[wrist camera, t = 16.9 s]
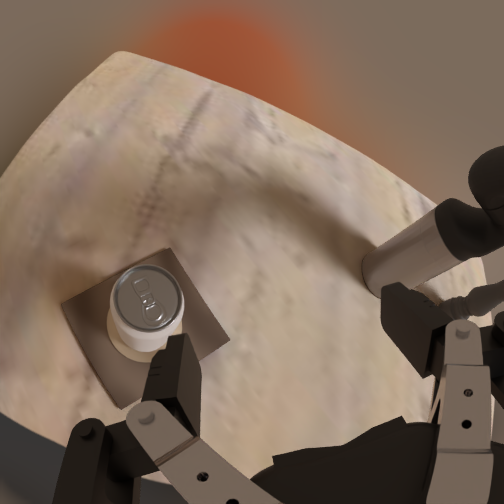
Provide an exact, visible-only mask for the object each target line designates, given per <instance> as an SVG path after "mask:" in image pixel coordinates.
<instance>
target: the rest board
mask: <svg viewBox="0 0 504 504" xmlns="http://www.w3.org/2000/svg"><path fill="white" fill-rule="evenodd" d="M141 264H152V265H156V266H159V267H162V268H164V269H165V270H167V271H168V272H170V273H171V274H172V275H173V276H174V277H175V279H176V280H177V282H178V284H179V286H180V288H181V291H182V293H183V297H184V312H183V316H182V319H181V321H180V323H179V325H178V326H177V328H176V329H175V331H174V332H173V334H172V335H176V334H182V333H187V334H188V335H189V337H190V340H191V343H192V345H193V348H194V351H195V353H196V356H197V358H198V361H200V360H201V359H203V358H204V357H206V356H207V355H209V354H210V353H212V352H213V351H215V350H216V349H218V348H219V347H221V346H222V345H224V344H225V343H227V342H228V341H230V338H229V337H228V336H227V334H226V333H225V331H224V330H223V328H222V327H221V325H220V324H219V322H218V321H217V319H216V318H215V317H214V315H213V314H212V312H211V311H210V309H209V308H208V306H207V305H206V303H205V302H204V300H203V299H202V297H201V295H200V294H199V292H198V291H197V289H196V288H195V286H194V285H193V283H192V282H191V280H190V278H189V277H188V275H187V274H186V272H185V271H184V269H183V267H182V266H181V264H180V263H179V261H178V259H177V258H176V256H175V255H174V253H173V251H172V250H171V248H168V249H166V250H164V251H162V252H160V253H158V254H156V255H154V256H152V257H150V258H148V259H146V260H144V261H142V262H140V263H138V264H136V265H134V266H137V265H141ZM134 266H132V267H134ZM132 267H130V268H132ZM130 268H128V269H130ZM128 269H126V270H125V271H127V270H128ZM125 271H123V272H121V273H119V274H117V275H115V276H113V277H111V278H109V279H107V280H105V281H103V282H101V283H99V284H98V285H96V286H94V287H92V288H90V289H88V290H86V291H84V292H82V293H81V294H79V295H77V296H75V297H73V298H71V299H69V300H68V301H66V302H64V303H62V304H61V305H62V308H63V310H64V312H65V314H66V316H67V318H68V320H69V322H70V324H71V326H72V328H73V330H74V332H75V334H76V336H77V338H78V340H79V342H80V344H81V346H82V347H83V349H84V351H85V353H86V355H87V356H88V358H89V360H90V362H91V363H92V365H93V367H94V369H95V370H96V372H97V374H98V375H99V377H100V379H101V380H102V382H103V383H104V385H105V387H106V388H107V390H108V391H109V393H110V394H111V396H112V397H113V399H114V400H115V402H116V403H117V405H118V406H119V408H120V409H121V410H122V409H123V408H125V407H127V406H128V405H130V404H132V403H133V402H135V401H137V400H138V399H140V398H142V396H143V392H144V388H145V383H146V379H147V377H148V371H149V370H150V364H151V360H152V358H153V357H154V355H155V354H156V353H157V351H158V350H161V349H165V348H166V343H167V342H166V343H165V344H164V345H163V346H161V347H160V348H158V349H156V350H154V351H151V352H141V351H137V350H134V349H132V348H130V347H129V346H128V345H126V344H125V343H124V341H123V340H122V339H121V337H120V335H119V333H118V331H117V328H116V325H115V323H114V320H113V317H112V313H111V308H110V296H111V292H112V289H113V286H114V285H115V283H116V281H117V280H118V279H119V278H120V276H121V275H122V274H123V273H124V272H125Z"/></svg>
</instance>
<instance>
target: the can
mask: <svg viewBox="0 0 504 504" xmlns="http://www.w3.org/2000/svg"><path fill="white" fill-rule="evenodd" d="M110 308H111V313H112V317H113V320H114V323H115V325H116V328H117V331H118V333H119V335H120V337H121V339H122V340H123V341H124V343H125V344H126V345H128V346H129V347H130V348H132V349H134V350H137V351H141V352H151V351H154V350H156V349H158V348H160V347H161V346H163V345H164V344H165V343H166V342H167V339H168V336H171V335H172V334H173V332H174V331H175V329H176V328H177V326H178V325H179V323H180V321H181V319H182V316H183V312H184V297H183V293H182V291H181V288H180V286H179V284H178V282H177V280H176V279H175V277H174V276H173V275H172V274H171V273H170V272H168V271H167V270H165V269H164V268H162V267H159V266H156V265H152V264H141V265H137V266H134V267H132V268H130V269H128V270H127V271H125V272H124V273H123V274H122V275H121V276H120V278H119V279H118V280H117V281H116V283H115V285H114V286H113V289H112V292H111V296H110Z"/></svg>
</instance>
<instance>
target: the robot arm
mask: <svg viewBox="0 0 504 504" xmlns="http://www.w3.org/2000/svg"><path fill="white" fill-rule="evenodd" d="M468 183H469V187H470V189H471V192H472V194H473V195H474V197H475V199H476V201H477V202H478V203H479V204H480V206H481V207H482V208H475V207H472V206H470V205H467V204H465V203H463V202H461V201H460V200H457V199H454V198H449V199H447V200H445V201H443V202H442V203H441V204H439V205H438V206H437V207H435V208H434V209H433V210H431V211H430V212H428V213H427V214H426V215H424V216H423V217H422V218H420V219H419V220H417V221H416V222H414V223H413V224H412V225H410V226H409V227H407V228H406V229H404V230H403V231H401V232H400V233H398V234H397V235H396V236H394V237H393V238H391V239H390V240H388V241H387V242H385V243H384V244H382V245H380V246H379V247H377V248H376V249H374V250H373V251H371V252H370V253H368V254H367V255H366V256H365V258H364V259H363V263H362V273H363V278H364V280H365V283H366V285H367V286H368V288H369V289H370V291H371V292H372V293H373V294H374V295H375V296H377V297H379V298H381V324H382V327H383V329H384V331H385V332H386V334H387V335H388V336H389V337H390V338H391V340H392V341H393V342H394V343H395V345H396V346H397V347H398V348H399V349H400V351H401V352H402V353H403V354H404V356H405V357H406V358H407V359H408V361H409V362H410V363H411V364H412V366H413V367H414V368H415V369H416V371H417V372H418V373H419V375H420V376H421V377H422V378H426V377H428V376H430V375H432V374H433V375H434V376H435V379H434V384H433V391H432V398H431V405H430V411H429V416H428V421H427V422H413V423H406V422H405V420H404V419H403V417H402V416H400V417H398V418H395V419H393V420H390V421H388V422H385V423H383V424H380V425H378V426H375V427H373V428H371V429H369V430H368V431H366V432H365V433H363V434H361V435H360V436H358V437H357V438H355V439H353V440H351V441H350V442H348V443H346V444H344V445H341V446H332V447H319V448H305V449H301V450H297V451H293V452H289V453H284V454H280V455H275V456H272V458H273V463H274V465H272V466H270V467H268V468H266V469H264V470H262V471H260V472H259V473H257V474H256V475H254V476H253V477H252V478H251V479H248V478H247V477H246V476H244V475H243V474H242V473H241V472H239V471H238V470H237V469H236V468H234V467H233V466H232V465H231V464H229V463H228V462H227V461H226V460H225V459H224V458H222V457H221V456H220V455H219V454H218V453H217V452H215V451H214V450H213V449H212V448H211V447H210V446H209V445H208V444H206V443H205V442H204V441H203V440H202V439H201V438H200V411H201V381H202V374H201V368H200V364H199V361H198V358H197V356H196V353H195V351H194V348H193V345H192V343H191V340H190V337H189V335H188V334H187V333H182V334H176V335H171V336H168V339H167V343H166V348H165V349H161V350H158V351H157V353H156V354H155V355H154V357H153V358H152V360H151V364H150V370H149V371H148V377H147V379H146V383H145V388H144V392H143V396H142V400H141V403H139V404H137V405H135V406H134V407H133V408H131V410H130V411H129V412H128V414H127V416H126V420H124V421H122V422H119V423H115V424H112V425H109V426H105V425H104V424H103V423H102V421H100V420H99V419H96V418H88V419H85V420H82V421H81V422H79V423H78V424H77V425H76V426H75V427H74V428H73V430H72V432H71V435H70V438H69V441H68V445H67V448H66V452H65V455H64V458H63V462H62V466H61V469H60V473H59V477H58V481H57V485H56V489H55V493H54V498H53V503H52V504H140V488H141V476H143V475H147V474H150V473H153V472H157V471H161V472H162V473H163V475H164V476H165V477H166V478H167V479H168V480H169V482H170V483H171V484H172V485H173V486H174V487H175V489H177V491H178V492H179V493H180V494H181V495H182V496H183V497H184V499H185V500H186V501H188V503H189V504H504V444H500V443H497V442H493V441H491V394H492V395H493V396H494V398H495V399H496V400H497V401H498V403H499V404H500V405H501V407H502V408H503V409H504V311H503V312H500V313H498V314H497V315H496V316H495V319H494V323H493V325H491V326H486V327H481V328H479V327H478V326H477V325H476V324H475V323H473V322H471V321H469V320H463V319H459V320H453V319H452V318H451V317H450V316H449V315H447V314H446V313H445V312H444V311H443V310H442V309H440V308H439V307H438V306H437V305H436V306H435V304H434V303H433V302H432V301H431V300H429V299H428V298H427V297H426V296H425V295H424V294H422V293H420V292H418V291H415V290H412V288H414V287H416V286H418V285H420V284H422V283H424V282H426V281H428V280H430V279H432V278H434V277H436V276H438V275H440V274H442V273H443V272H445V271H447V270H449V269H451V268H453V267H455V266H456V265H458V264H460V263H462V262H464V261H466V260H468V259H470V258H472V257H481V256H484V255H487V254H489V253H491V252H493V251H495V250H496V249H499V248H500V247H503V246H504V146H500V147H496V148H494V149H491V150H489V151H487V152H486V153H484V154H482V155H481V156H480V157H479V158H478V159H477V160H476V161H475V162H474V163H473V165H472V167H471V168H470V171H469V176H468ZM409 289H411V290H409Z"/></svg>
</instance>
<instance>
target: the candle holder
mask: <svg viewBox="0 0 504 504" xmlns="http://www.w3.org/2000/svg"><path fill="white" fill-rule="evenodd" d="M502 301H504V280H502V281H500V282H498V283H496V284H491V285H485V286H480V287H475V288H473V289H472V290H471V291H470V293H469V294H468V296H466V297H462V296H458V297H457V298H451V299H448V300H446V301H444V302H442V303H441V304H440V305H439V308H440V309H442V310H443V311H444V312H445V313H446V314H447V315H449V316H450V317H451V318H452V319H453V320H459V319H463V320H467V319H468V318H469V316H473V315H474V316H477V317H478V316H484V315H485V314H487V313H488V312H489V311H491V310H492V309H493V308H495V307H496V306H497V305H498V304H500V303H501V302H502Z"/></svg>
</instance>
